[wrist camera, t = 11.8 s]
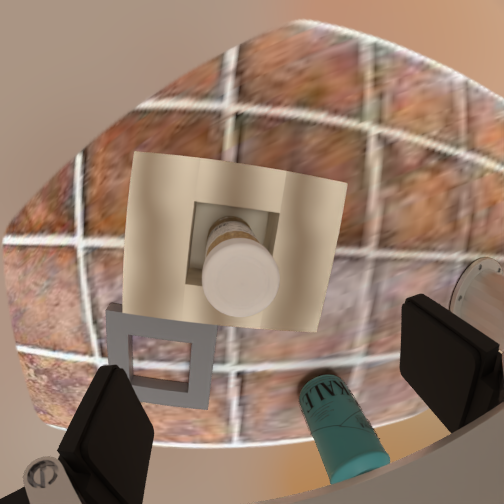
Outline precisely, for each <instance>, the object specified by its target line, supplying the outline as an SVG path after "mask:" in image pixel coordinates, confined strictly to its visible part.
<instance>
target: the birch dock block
mask: <svg viewBox="0 0 504 504" xmlns="http://www.w3.org/2000/svg"><path fill="white" fill-rule="evenodd" d="M347 184H348V183H344V182H339V181H335V180H330V179H325V178H320V177H315V176H310V175H305V174H300V173H294V172H289V171H283V170H278V169H272V168H266V167H260V166H254V165H247V164H241V163H234V162H227V161H220V160H212V159H204V158H196V157H188V156H179V155H169V154H159V153H148V152H136V151H134V157H133V164H132V171H131V179H130V188H129V197H128V207H127V217H126V230H125V245H124V264H123V313H127V314H134V315H140V316H147V317H154V318H162V319H169V320H177V321H185V322H194V323H202V324H212V325H221V326H232V327H243V328H255V329H267V330H282V331H298V332H317V328H318V324H319V320H320V316H321V312H322V308H323V304H324V300H325V295H326V291H327V287H328V282H329V278H330V273H331V269H332V264H333V259H334V255H335V250H336V245H337V240H338V235H339V230H340V224H341V219H342V213H343V208H344V202H345V196H346V190H347ZM226 216H235V217H238V218H241V219H243V220H244V221H245V222H247V224H248V225H249V226H250V228H251V230H252V231H253V233H254V234H255V236H256V237H257V239H258V240H259V242H260V243H261V245H262V246H264V247H265V248H266V249H267V250H268V251H269V253H270V254H271V255H272V257H273V258H274V260H275V262H276V264H277V266H278V269H279V274H280V283H279V289H278V292H277V294H276V296H275V298H274V300H273V301H272V302H271V303H270V305H269V306H268V307H266V308H265V309H264V310H262V311H261V312H259V313H257V314H255V315H252V316H248V317H233V316H228V315H226V314H224V313H221V312H219V311H218V310H216V309H215V308H214V307H213V306H212V305H211V304H210V303H209V301H208V300H207V298H206V296H205V294H204V291H203V287H202V269H203V265H204V262H205V254H206V245H207V236H208V231H209V229H210V227H211V226H212V224H213V223H214V222H216V221H217V220H218V219H221V218H222V217H226Z"/></svg>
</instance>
